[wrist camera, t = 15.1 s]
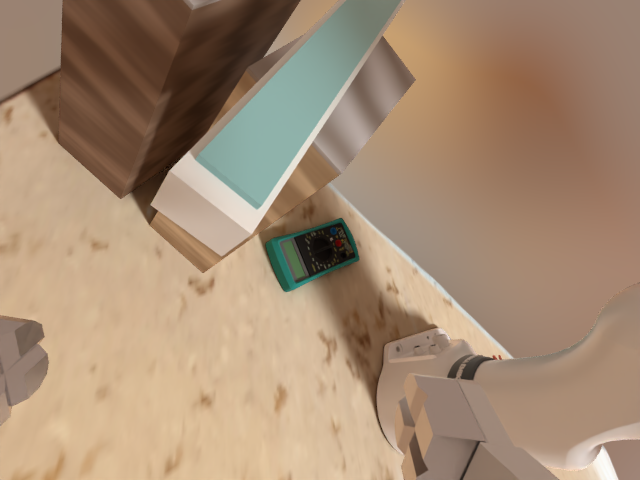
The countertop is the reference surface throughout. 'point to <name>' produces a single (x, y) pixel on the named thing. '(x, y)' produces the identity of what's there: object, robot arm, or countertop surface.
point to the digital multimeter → (311, 253)
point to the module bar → (270, 128)
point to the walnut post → (153, 77)
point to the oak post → (325, 151)
